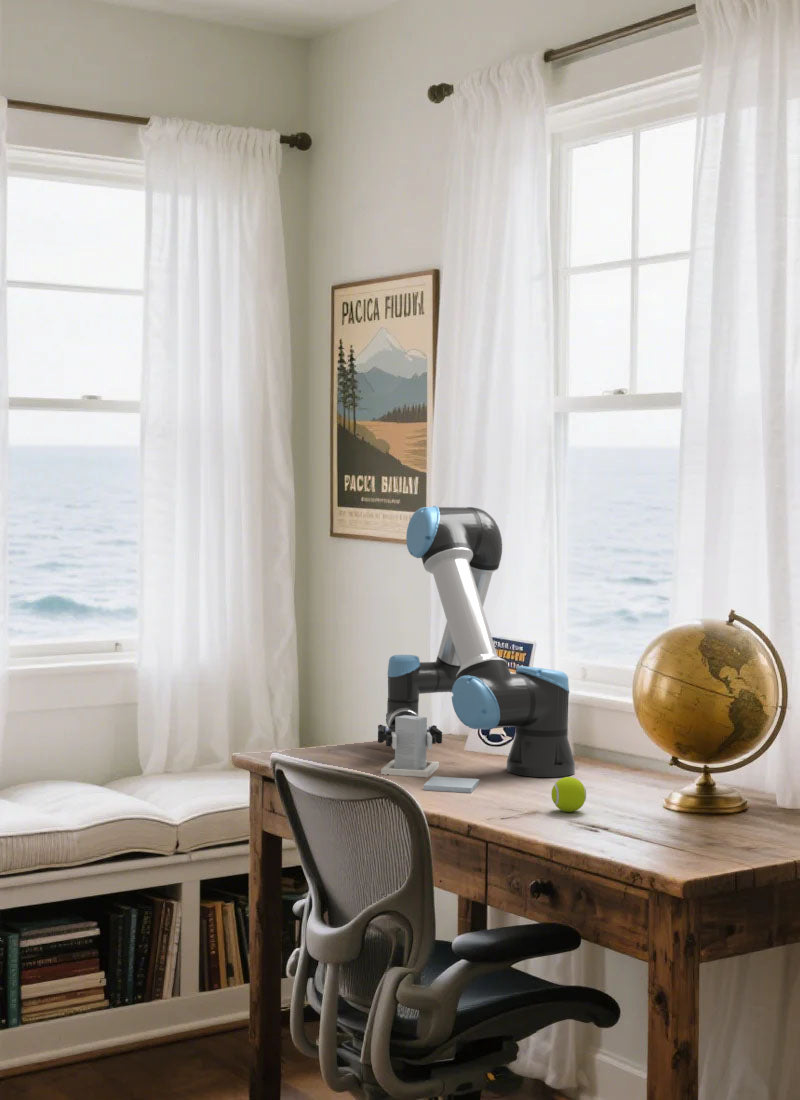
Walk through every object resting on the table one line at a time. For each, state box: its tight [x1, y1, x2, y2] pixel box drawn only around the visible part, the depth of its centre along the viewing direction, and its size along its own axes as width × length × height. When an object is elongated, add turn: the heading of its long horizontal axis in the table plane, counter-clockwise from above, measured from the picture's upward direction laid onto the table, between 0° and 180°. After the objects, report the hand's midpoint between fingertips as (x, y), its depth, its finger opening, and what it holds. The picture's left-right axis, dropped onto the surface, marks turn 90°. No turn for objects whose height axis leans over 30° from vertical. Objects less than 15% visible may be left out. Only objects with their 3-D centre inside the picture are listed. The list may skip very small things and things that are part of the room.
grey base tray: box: [380, 758, 440, 778], centre depth 310 cm, size 10×12×1 cm
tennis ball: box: [551, 776, 587, 813], centre depth 271 cm, size 7×7×7 cm
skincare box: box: [394, 715, 428, 770], centre depth 310 cm, size 6×4×12 cm
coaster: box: [423, 775, 480, 794], centre depth 293 cm, size 10×10×1 cm
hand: (412, 742), depth 305 cm, fingers closed on skincare box, 7 cm apart
